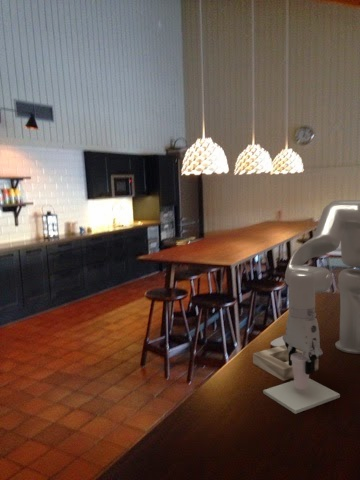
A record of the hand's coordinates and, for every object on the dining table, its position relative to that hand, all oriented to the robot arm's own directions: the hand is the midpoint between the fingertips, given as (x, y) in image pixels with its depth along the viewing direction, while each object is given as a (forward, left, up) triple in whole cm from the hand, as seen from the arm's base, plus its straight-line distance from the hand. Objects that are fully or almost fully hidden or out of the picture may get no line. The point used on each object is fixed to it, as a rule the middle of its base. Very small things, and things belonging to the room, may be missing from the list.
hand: (301, 368), depth 127 cm
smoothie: (0, 0, -6) cm, 6 cm away
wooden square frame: (-10, -18, -9) cm, 22 cm away
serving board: (0, 0, -9) cm, 9 cm away
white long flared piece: (-31, -38, -9) cm, 50 cm away
